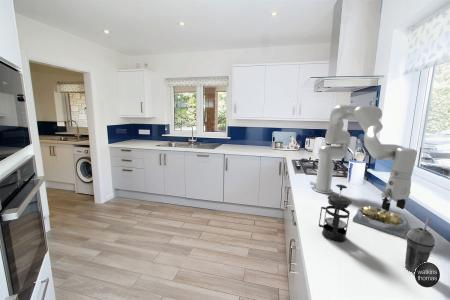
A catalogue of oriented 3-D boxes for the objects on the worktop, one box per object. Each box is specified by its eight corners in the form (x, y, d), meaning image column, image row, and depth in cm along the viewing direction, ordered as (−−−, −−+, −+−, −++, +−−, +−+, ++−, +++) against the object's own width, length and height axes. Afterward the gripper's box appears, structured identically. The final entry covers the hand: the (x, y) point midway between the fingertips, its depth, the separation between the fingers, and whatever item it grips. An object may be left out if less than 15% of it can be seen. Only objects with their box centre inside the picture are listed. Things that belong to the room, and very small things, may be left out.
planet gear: (392, 228, 101) (394, 218, 100) (381, 222, 106) (382, 212, 105) (401, 226, 102) (403, 216, 101) (389, 220, 108) (391, 211, 107)
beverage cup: (394, 263, 78) (405, 211, 75) (413, 262, 79) (424, 211, 76) (413, 278, 71) (426, 222, 68) (433, 278, 72) (447, 222, 68)
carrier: (352, 221, 109) (354, 207, 107) (361, 209, 123) (363, 197, 122) (403, 238, 95) (406, 222, 94) (406, 222, 110) (409, 209, 109)
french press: (347, 234, 96) (355, 184, 92) (348, 245, 88) (357, 191, 84) (318, 226, 101) (325, 179, 97) (317, 236, 93) (324, 185, 89)
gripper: (395, 178, 94) (387, 214, 97) (422, 176, 99) (413, 210, 103) (379, 172, 101) (371, 206, 104) (405, 171, 106) (397, 203, 109)
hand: (392, 208), depth 103 cm, fingers open, 9 cm apart
